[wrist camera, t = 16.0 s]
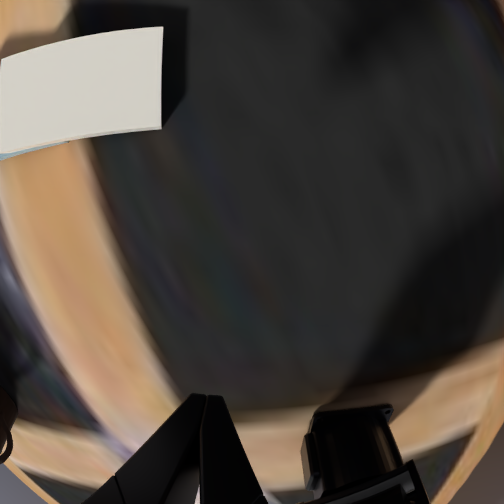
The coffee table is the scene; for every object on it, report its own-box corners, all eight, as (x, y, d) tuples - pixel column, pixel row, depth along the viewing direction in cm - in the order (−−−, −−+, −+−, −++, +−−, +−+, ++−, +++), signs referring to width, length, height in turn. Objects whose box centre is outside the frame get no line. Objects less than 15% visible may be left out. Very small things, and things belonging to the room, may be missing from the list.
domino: (163, 26, 11) (1, 58, 9) (161, 126, 12) (-4, 154, 10) (162, 38, 12) (13, 65, 10) (161, 129, 14) (10, 152, 12)
